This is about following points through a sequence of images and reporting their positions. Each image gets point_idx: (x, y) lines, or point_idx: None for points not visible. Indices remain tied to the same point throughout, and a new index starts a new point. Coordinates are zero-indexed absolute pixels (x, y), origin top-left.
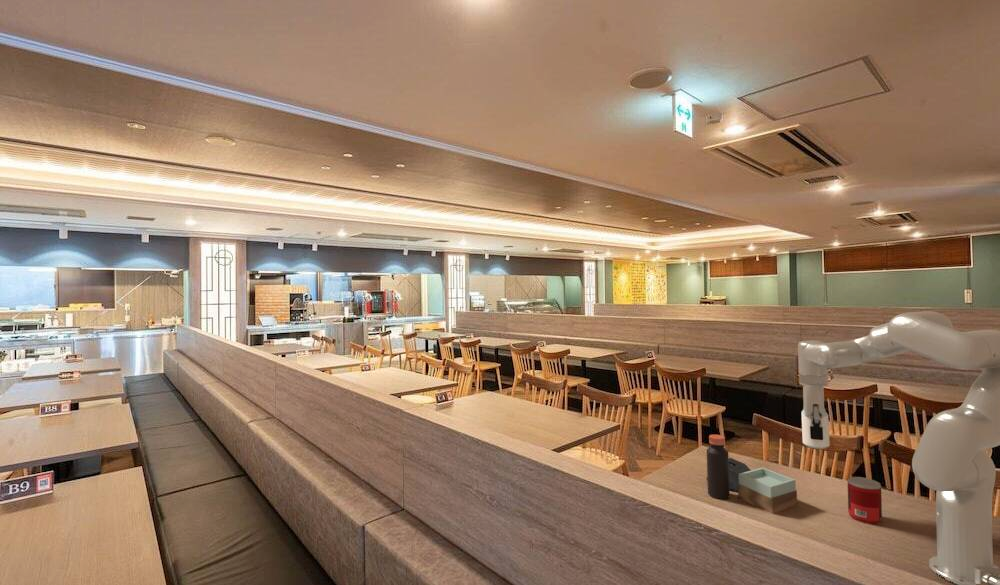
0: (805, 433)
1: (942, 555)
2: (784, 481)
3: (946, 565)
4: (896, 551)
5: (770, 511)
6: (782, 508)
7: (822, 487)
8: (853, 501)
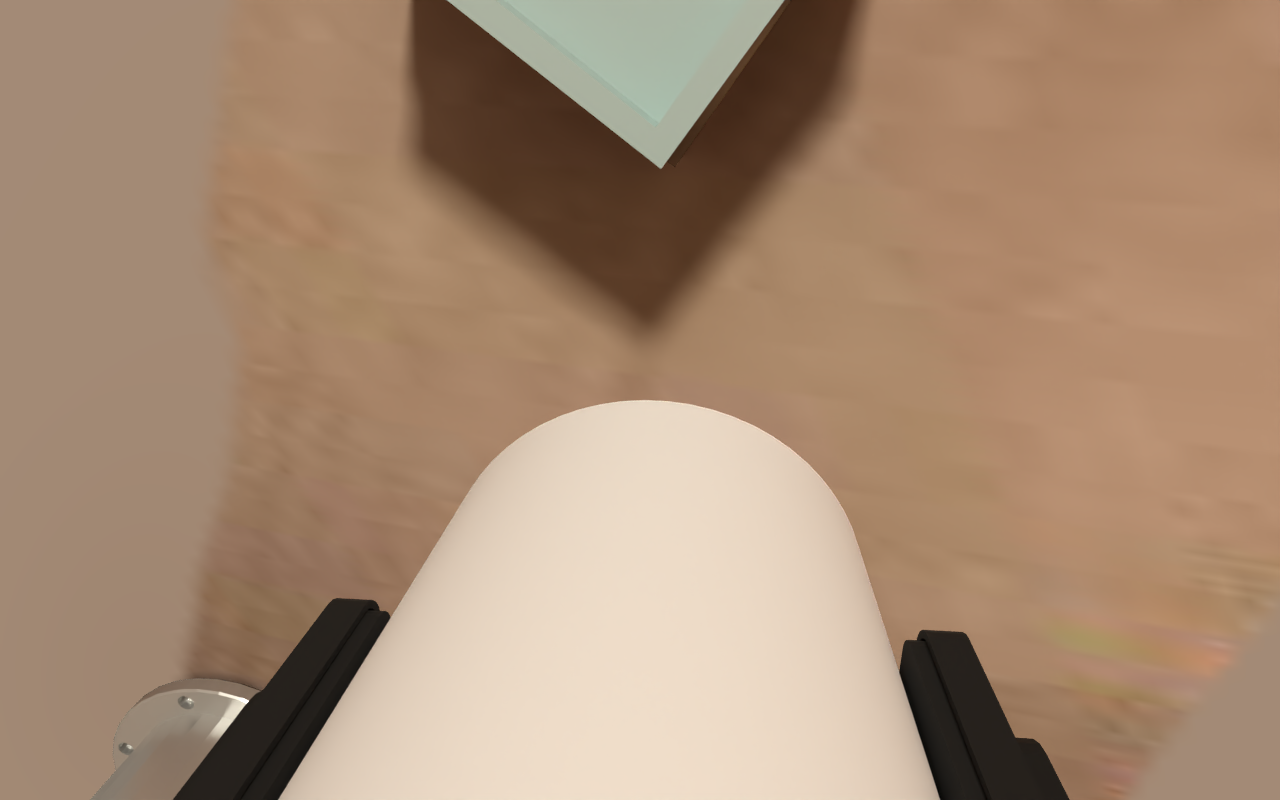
0: (450, 560)
1: (128, 770)
2: (554, 51)
3: (138, 747)
4: (298, 595)
5: None
6: None
7: (1136, 375)
8: None
